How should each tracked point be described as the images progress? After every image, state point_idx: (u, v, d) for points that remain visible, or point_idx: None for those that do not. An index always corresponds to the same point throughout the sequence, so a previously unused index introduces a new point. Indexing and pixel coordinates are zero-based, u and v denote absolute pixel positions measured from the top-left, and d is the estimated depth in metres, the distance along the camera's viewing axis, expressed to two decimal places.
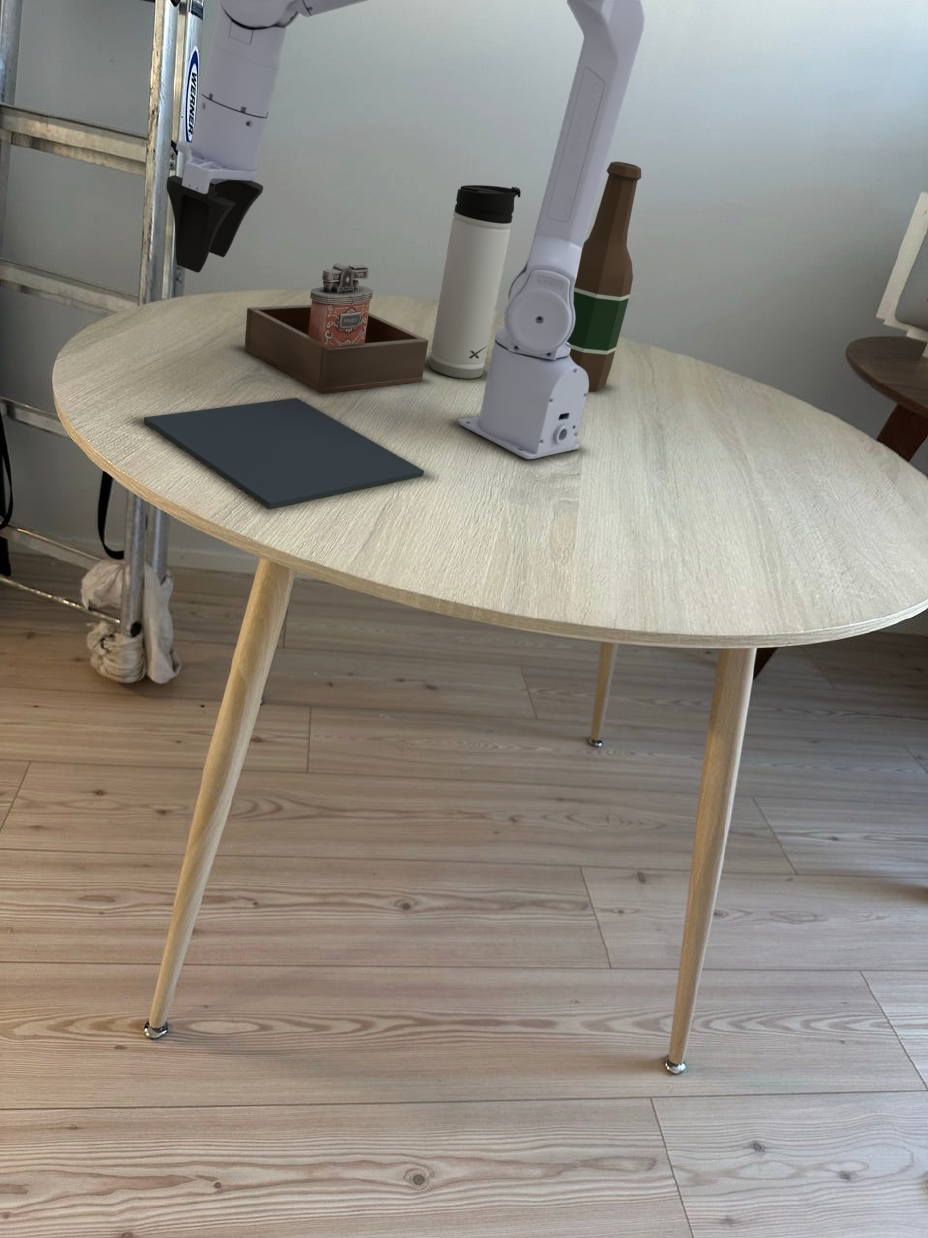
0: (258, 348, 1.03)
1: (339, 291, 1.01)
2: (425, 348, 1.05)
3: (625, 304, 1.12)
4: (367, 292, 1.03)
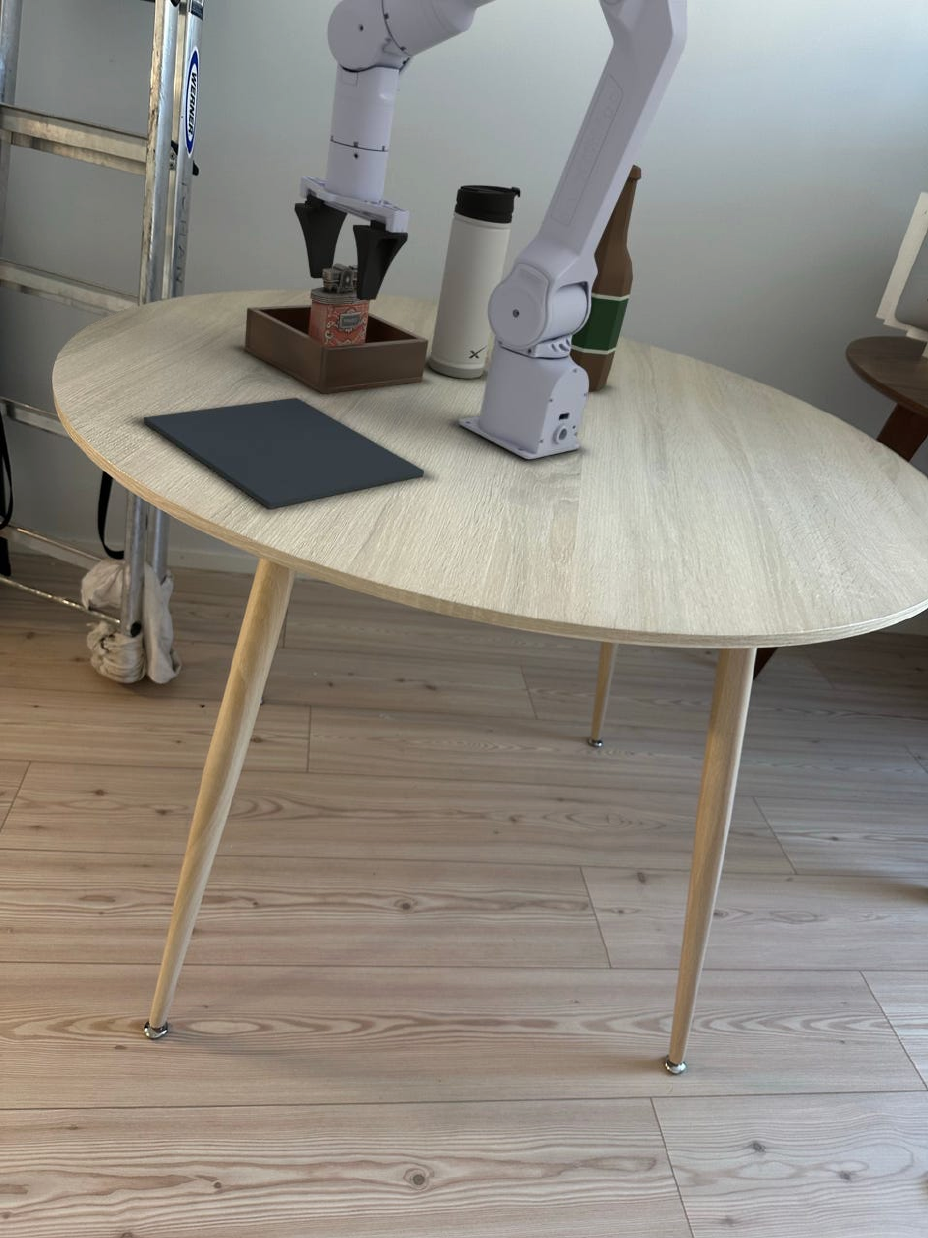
0: (258, 348, 1.03)
1: (339, 291, 1.01)
2: (425, 348, 1.05)
3: (625, 304, 1.12)
4: None
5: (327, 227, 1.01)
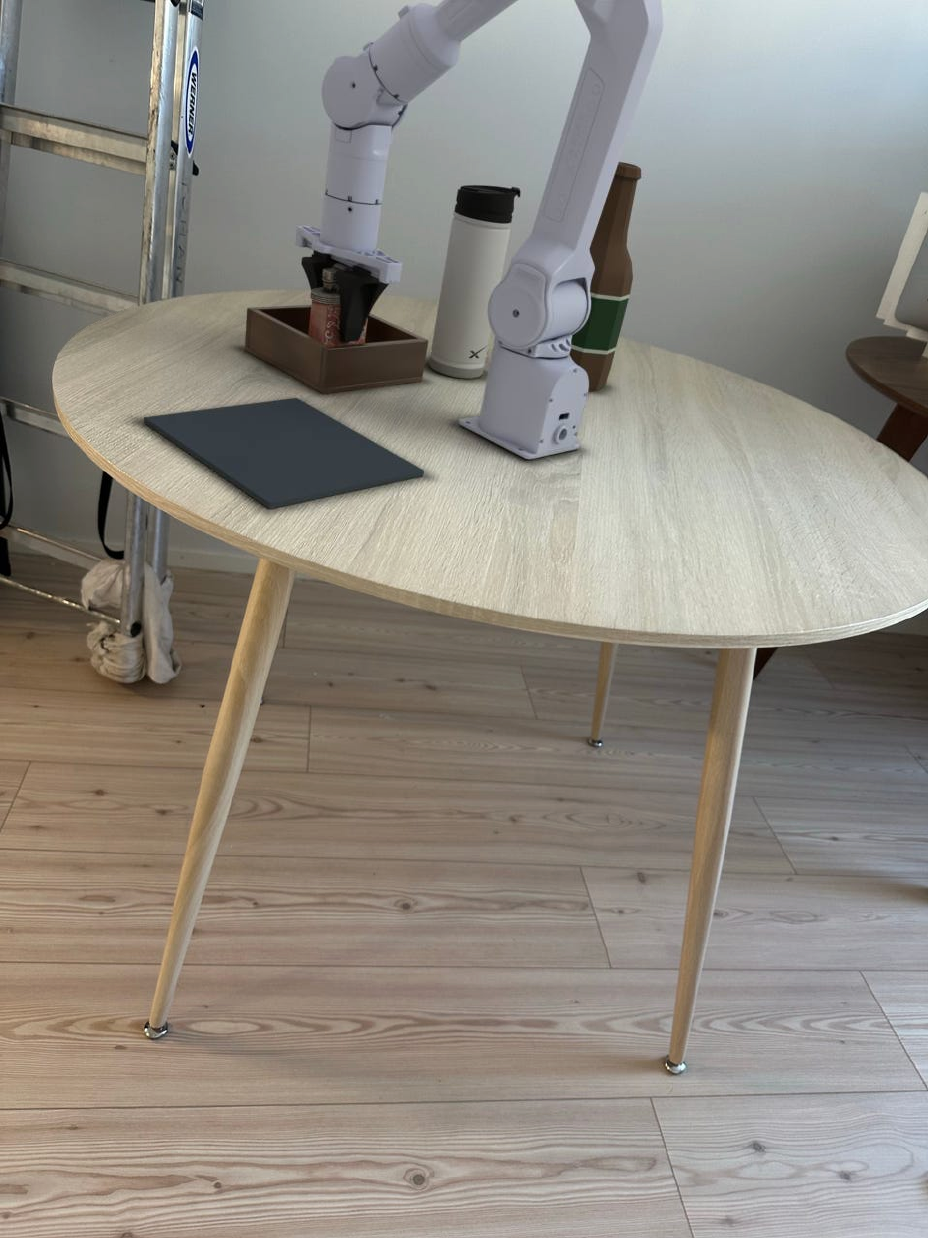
0: (258, 348, 1.03)
1: None
2: (425, 348, 1.05)
3: (625, 304, 1.12)
4: None
5: None
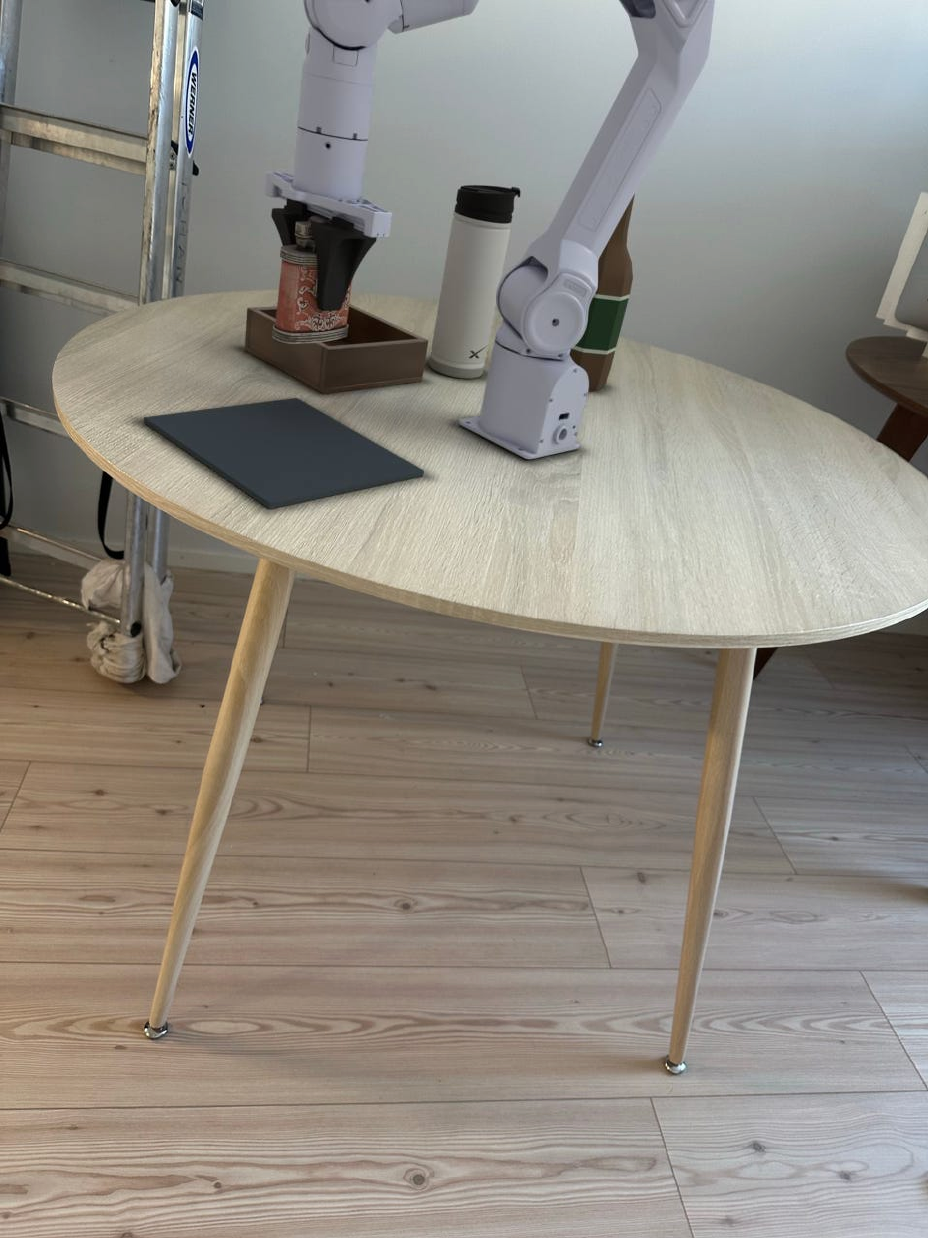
0: (258, 348, 1.03)
1: None
2: (425, 348, 1.05)
3: (625, 304, 1.12)
4: None
5: None
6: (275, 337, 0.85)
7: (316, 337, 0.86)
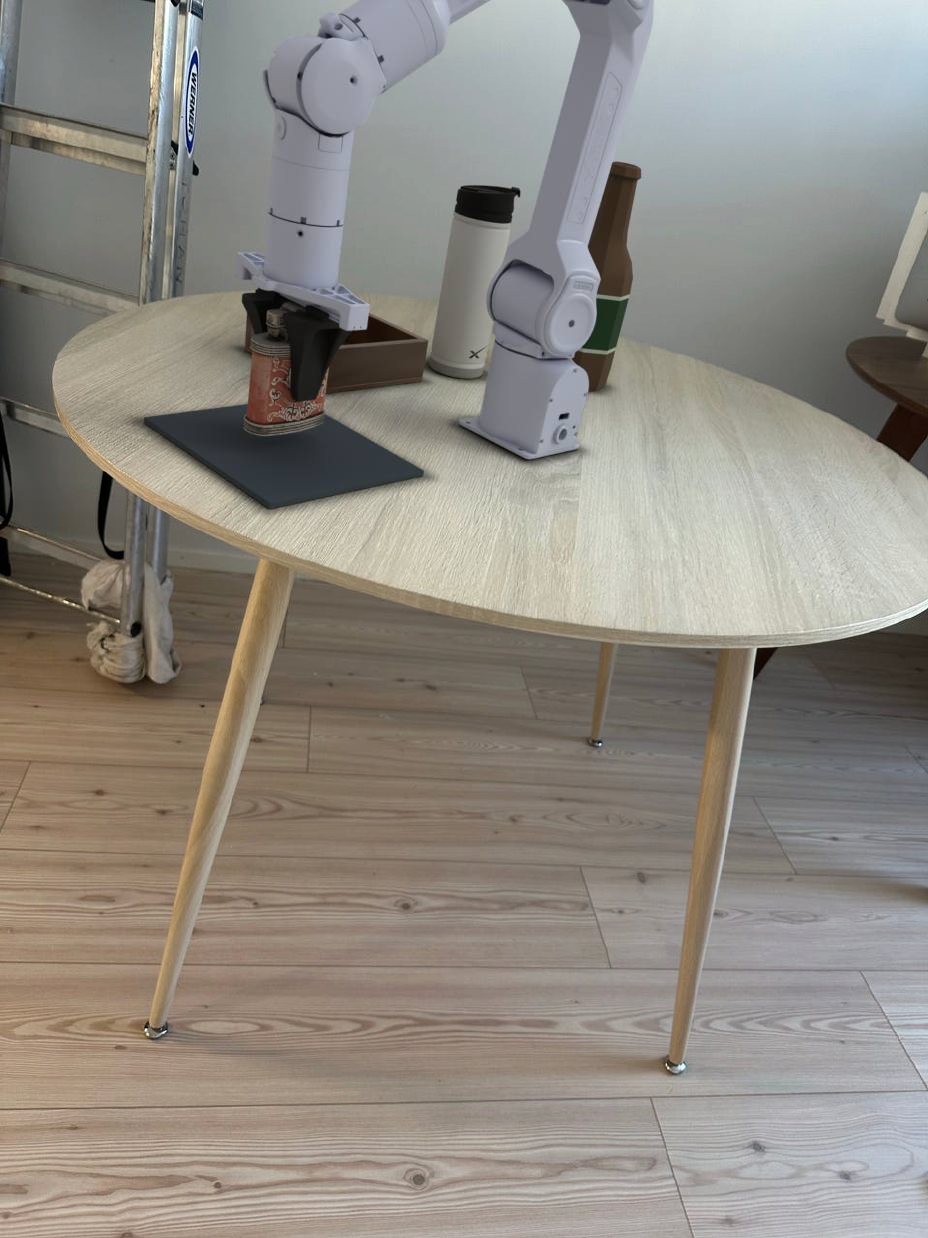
0: None
1: None
2: (425, 348, 1.05)
3: (625, 304, 1.12)
4: None
5: None
6: (246, 429, 0.80)
7: (290, 427, 0.81)
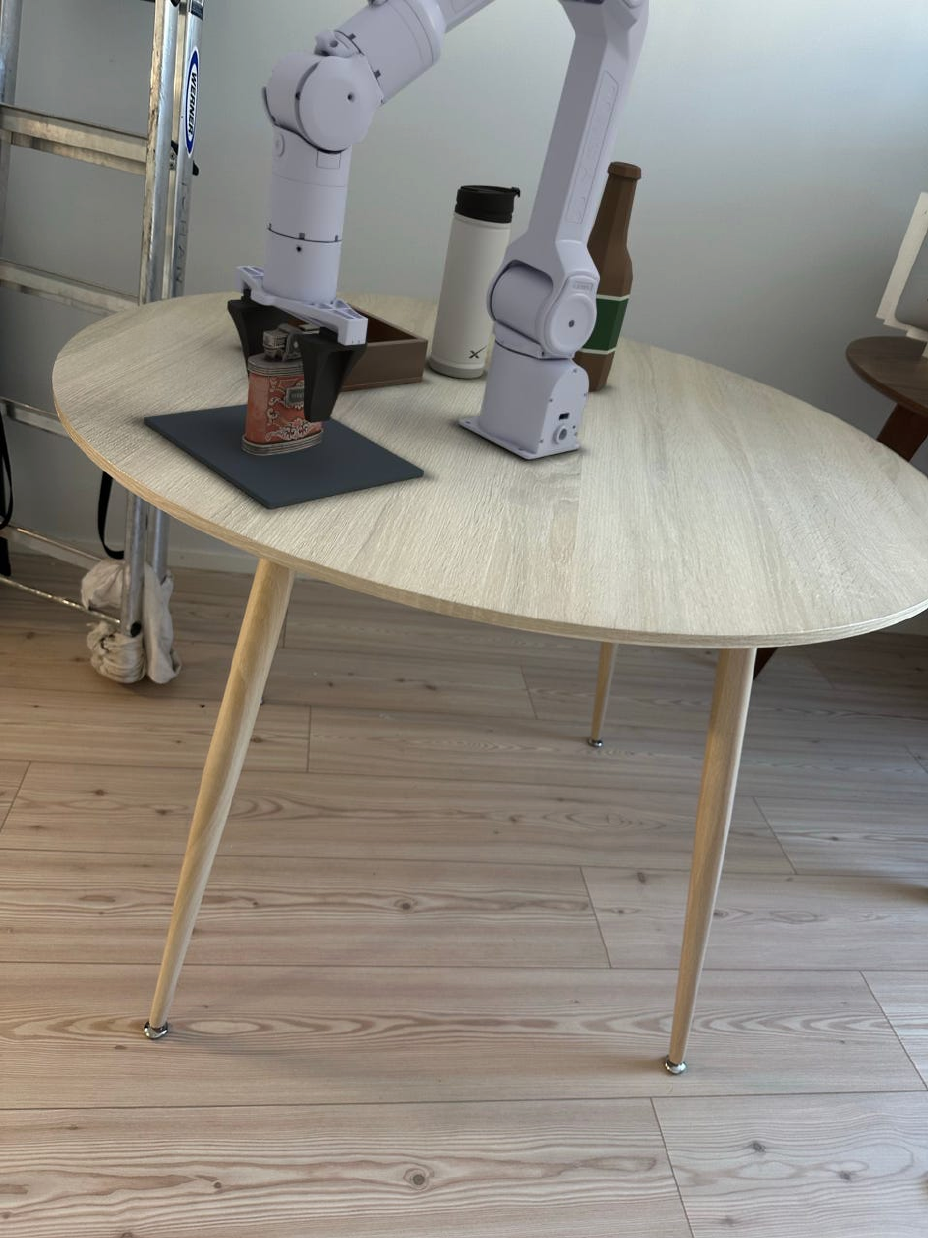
0: None
1: (285, 358, 0.79)
2: (425, 348, 1.05)
3: (625, 304, 1.12)
4: None
5: (269, 328, 0.82)
6: (245, 449, 0.81)
7: (288, 447, 0.82)
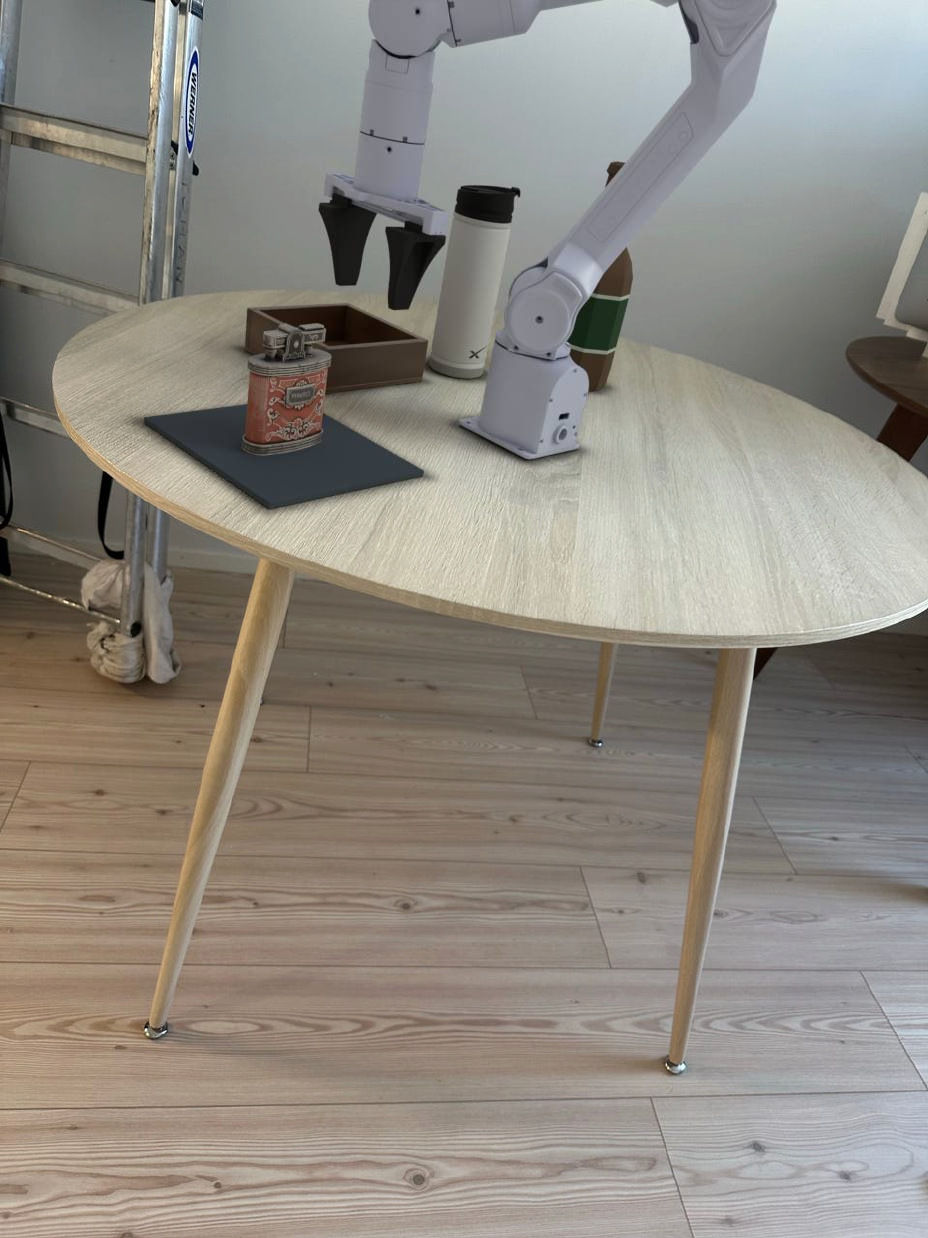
0: (258, 348, 1.03)
1: (285, 358, 0.79)
2: (425, 348, 1.05)
3: (625, 304, 1.12)
4: (323, 358, 0.81)
5: (354, 229, 0.92)
6: (245, 449, 0.81)
7: (288, 447, 0.82)
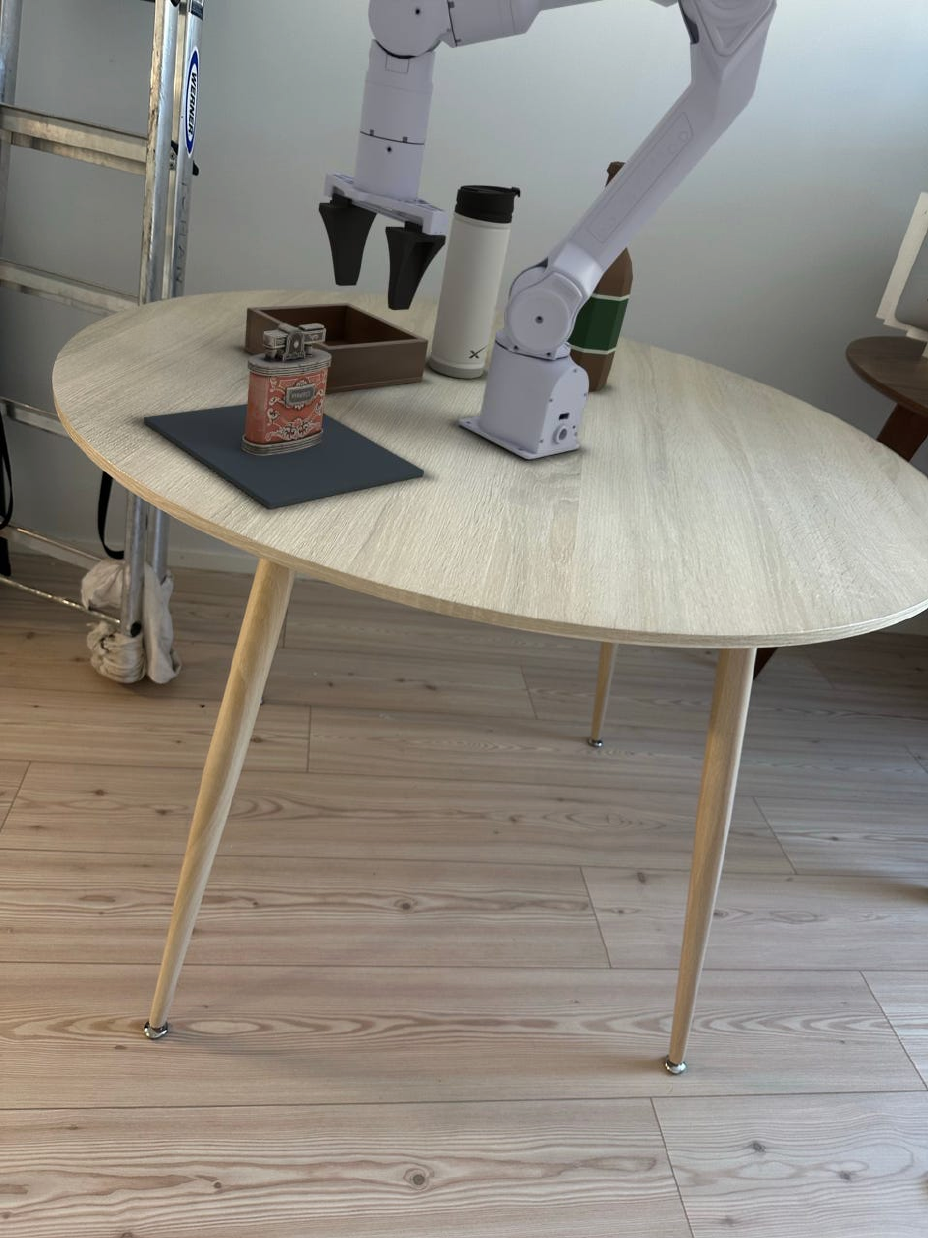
0: (258, 348, 1.03)
1: (285, 358, 0.79)
2: (425, 348, 1.05)
3: (625, 304, 1.12)
4: (323, 358, 0.81)
5: (354, 229, 0.92)
6: (245, 449, 0.81)
7: (288, 447, 0.82)
